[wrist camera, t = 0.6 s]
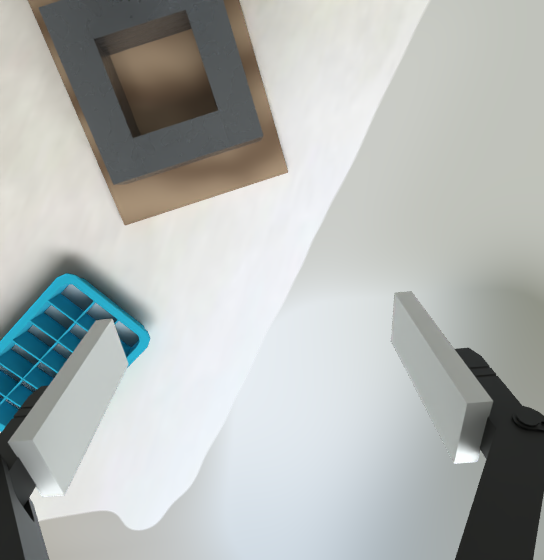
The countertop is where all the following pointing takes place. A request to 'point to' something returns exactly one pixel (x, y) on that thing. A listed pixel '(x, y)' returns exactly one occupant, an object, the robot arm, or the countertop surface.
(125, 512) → the countertop surface
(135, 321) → the ice cube tray
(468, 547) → the robot arm
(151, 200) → the brown base board
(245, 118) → the square socket
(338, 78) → the countertop surface
